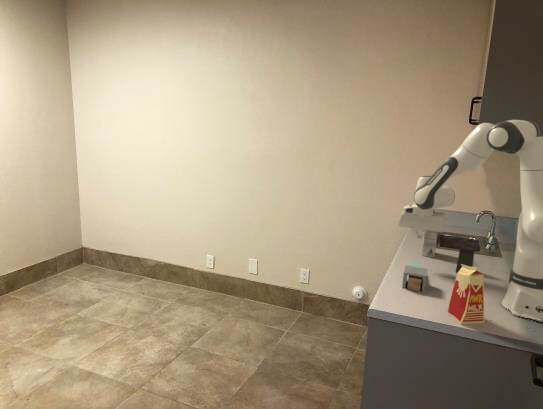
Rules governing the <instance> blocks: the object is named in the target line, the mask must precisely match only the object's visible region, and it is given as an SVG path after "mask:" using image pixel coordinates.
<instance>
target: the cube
mask: <svg viewBox="0 0 543 409" xmlns="http://www.w3.org/2000/svg"><path fill="white" fill-rule="evenodd" d="M421 278H422V279H423V277H417V276H411V275H408V276H407V284H406V289H408V290H413V291H414V290H415V291H421V288H422V287H421Z"/></svg>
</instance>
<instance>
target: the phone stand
mask: <svg viewBox="0 0 543 409" xmlns="http://www.w3.org/2000/svg"><path fill="white" fill-rule="evenodd" d="M475 250H476V247H473V246H469V245H467V246H466V245H462V244H461V245H460V247H459V251H458V258H457V262H456V268H455V273H456V274H457V273H458V272H459V270H460V269H461V268H462V265H466V266H469V267H474V259H475V258H474V257H475ZM461 264H462V265H461Z"/></svg>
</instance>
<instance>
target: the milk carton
mask: <svg viewBox="0 0 543 409" xmlns="http://www.w3.org/2000/svg"><path fill="white" fill-rule="evenodd" d="M461 265H462V264H461ZM478 269H479V267H478V266H473V267H469V266H466V265H462V268H461V269H460V270H459V272H458V273H457V272H456V276H455V280H454V283H453V287H452V290H451V295H450V298H449V302H448V308H447V313H446V314H447V315H448V316H450V317H452V318H453V320H455V321H456V322H458V324H460V325H473V324H476V325H477V324H485V319H486V318H485V292H484V291H485V290H484V289H485V288H484V274H483V273H482V272H480V271H478Z"/></svg>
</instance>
